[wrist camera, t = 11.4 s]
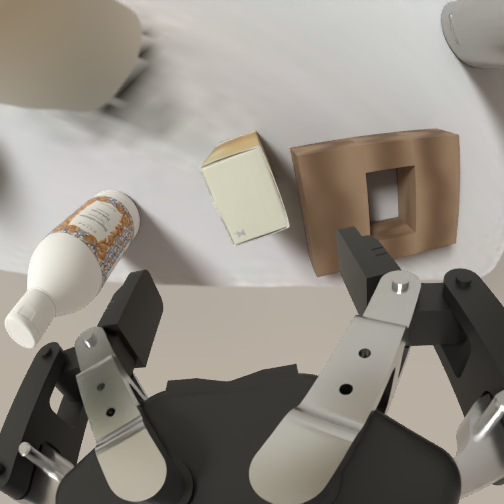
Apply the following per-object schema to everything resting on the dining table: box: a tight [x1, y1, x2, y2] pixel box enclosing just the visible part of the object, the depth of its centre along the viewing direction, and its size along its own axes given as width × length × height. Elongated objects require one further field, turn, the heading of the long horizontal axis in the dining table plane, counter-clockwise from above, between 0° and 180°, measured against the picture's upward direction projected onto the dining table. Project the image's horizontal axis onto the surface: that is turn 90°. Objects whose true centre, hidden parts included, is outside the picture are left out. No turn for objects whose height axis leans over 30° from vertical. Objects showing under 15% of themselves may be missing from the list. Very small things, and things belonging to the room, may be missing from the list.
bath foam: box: [5, 190, 140, 349], centre depth 24 cm, size 7×7×20 cm
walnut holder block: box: [290, 129, 460, 277], centre depth 30 cm, size 18×13×4 cm
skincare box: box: [199, 131, 290, 246], centre depth 25 cm, size 6×4×12 cm
